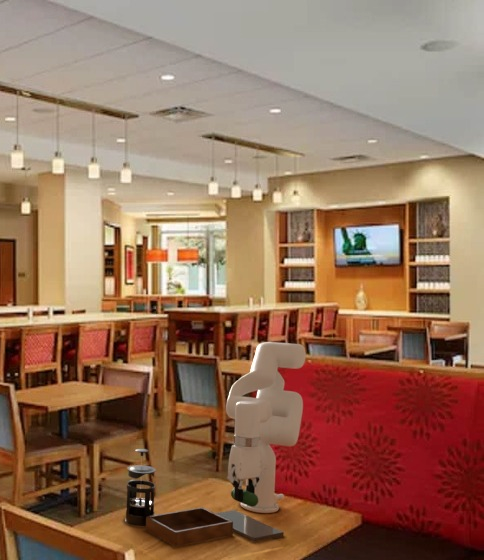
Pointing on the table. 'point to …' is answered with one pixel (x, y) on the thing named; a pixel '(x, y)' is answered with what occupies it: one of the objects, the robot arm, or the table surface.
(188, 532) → the brown wooden tray
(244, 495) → the cucumber
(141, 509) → the french press
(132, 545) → the table surface
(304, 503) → the table surface
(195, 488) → the table surface
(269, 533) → the board
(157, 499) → the table surface
